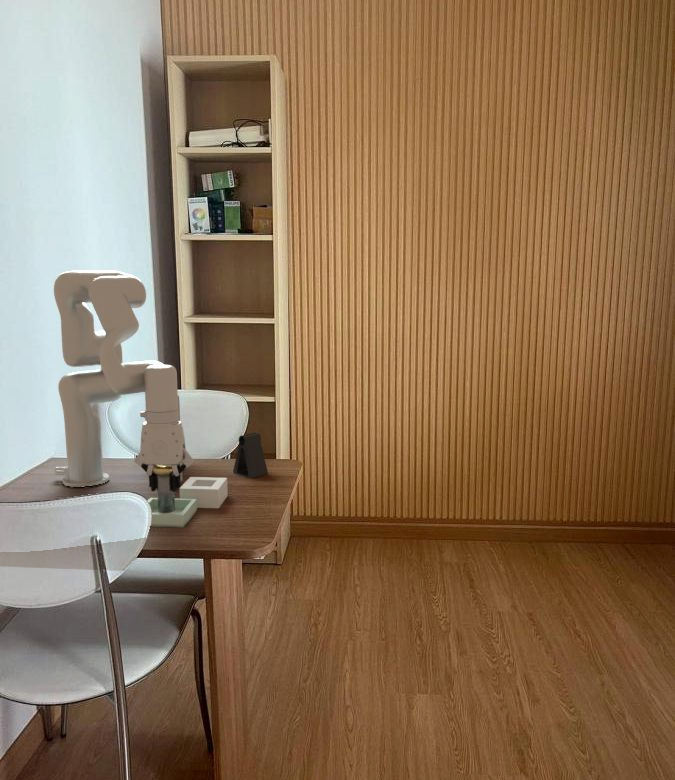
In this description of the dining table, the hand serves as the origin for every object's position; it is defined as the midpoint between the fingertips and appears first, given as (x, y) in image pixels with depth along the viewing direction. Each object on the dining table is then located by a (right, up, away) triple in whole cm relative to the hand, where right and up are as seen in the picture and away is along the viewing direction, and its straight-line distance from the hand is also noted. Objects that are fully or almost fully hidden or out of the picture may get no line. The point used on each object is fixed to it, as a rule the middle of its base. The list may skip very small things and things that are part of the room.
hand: (165, 489), depth 176 cm
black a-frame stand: (+16, -1, +39) cm, 42 cm away
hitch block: (+7, -5, +14) cm, 16 cm away
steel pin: (0, -5, +1) cm, 5 cm away
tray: (0, -7, +1) cm, 7 cm away
